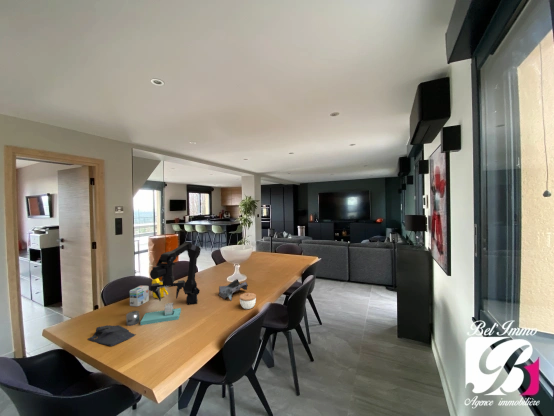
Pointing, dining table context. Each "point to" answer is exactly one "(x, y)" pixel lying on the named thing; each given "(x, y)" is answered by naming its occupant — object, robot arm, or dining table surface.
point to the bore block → (160, 317)
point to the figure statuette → (160, 288)
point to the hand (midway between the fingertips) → (168, 299)
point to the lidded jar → (248, 300)
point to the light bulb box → (139, 295)
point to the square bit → (168, 309)
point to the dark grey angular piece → (231, 289)
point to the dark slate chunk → (111, 335)
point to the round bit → (132, 318)
